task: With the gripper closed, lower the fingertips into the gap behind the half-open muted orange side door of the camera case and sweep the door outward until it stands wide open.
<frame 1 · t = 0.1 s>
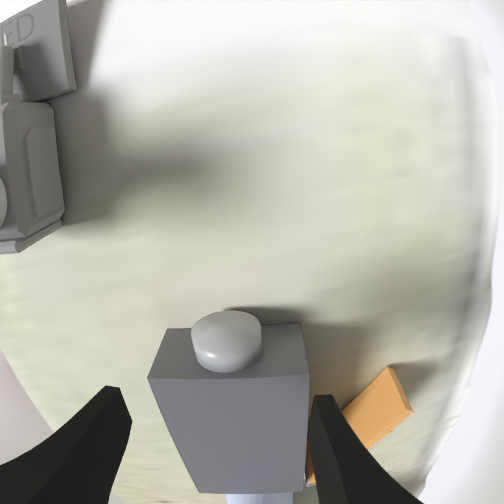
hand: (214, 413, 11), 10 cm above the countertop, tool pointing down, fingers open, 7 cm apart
camera: (30, 120, 16), on the countertop
camera case: (243, 402, 24), on the countertop
case door: (351, 434, 22), point 3 cm above the countertop, hinge at 35.0°
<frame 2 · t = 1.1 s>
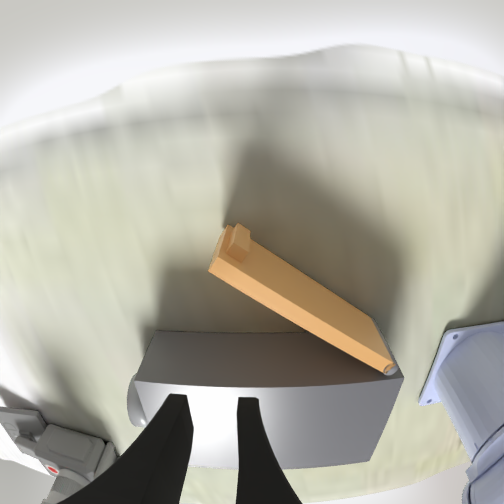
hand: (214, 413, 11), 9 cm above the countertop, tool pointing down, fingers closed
camera: (60, 434, 27), on the countertop
camera case: (268, 382, 22), on the countertop
case door: (316, 299, 17), point 3 cm above the countertop, hinge at 35.0°
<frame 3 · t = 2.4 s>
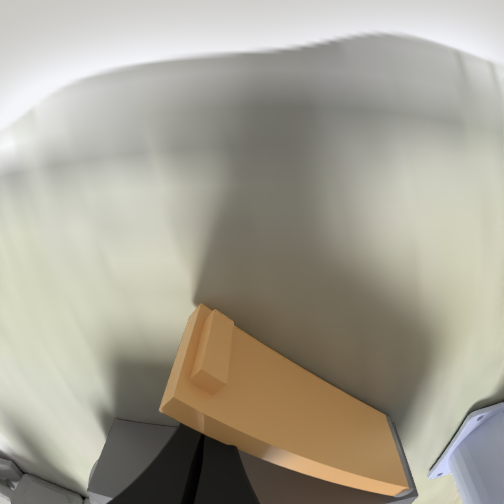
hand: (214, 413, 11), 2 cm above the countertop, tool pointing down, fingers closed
camera: (38, 481, 22), on the countertop
camera case: (253, 471, 16), on the countertop
case door: (321, 418, 11), point 3 cm above the countertop, hinge at 38.9°, touching gripper
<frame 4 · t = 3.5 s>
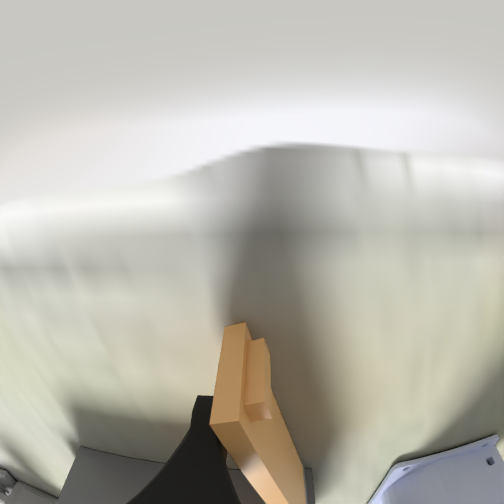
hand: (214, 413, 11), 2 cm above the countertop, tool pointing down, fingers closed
camera: (29, 488, 23), on the countertop
camera case: (196, 494, 18), on the countertop
case door: (281, 456, 12), point 3 cm above the countertop, hinge at 73.7°, touching gripper
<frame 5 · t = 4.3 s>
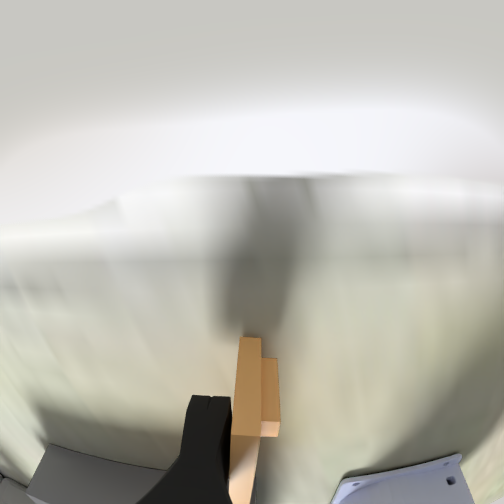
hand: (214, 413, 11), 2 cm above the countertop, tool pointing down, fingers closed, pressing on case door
camera: (16, 484, 24), on the countertop
camera case: (155, 494, 18), on the countertop
case door: (247, 466, 12), point 3 cm above the countertop, hinge at 94.5°, touching gripper
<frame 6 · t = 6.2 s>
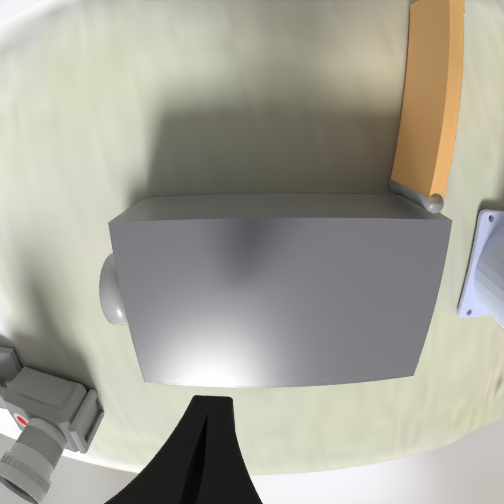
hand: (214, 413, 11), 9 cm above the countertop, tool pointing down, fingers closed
camera: (37, 381, 24), on the countertop
camera case: (279, 269, 19), on the countertop
case door: (434, 92, 12), point 3 cm above the countertop, hinge at 98.4°
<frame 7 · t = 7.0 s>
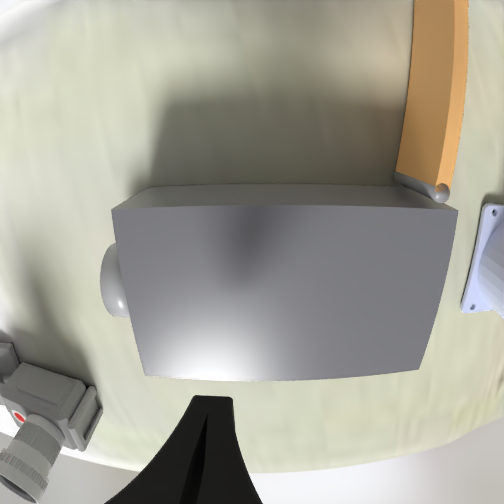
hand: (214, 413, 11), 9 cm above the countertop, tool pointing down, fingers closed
camera: (35, 378, 24), on the countertop
camera case: (283, 261, 19), on the countertop
case door: (439, 84, 12), point 3 cm above the countertop, hinge at 98.4°
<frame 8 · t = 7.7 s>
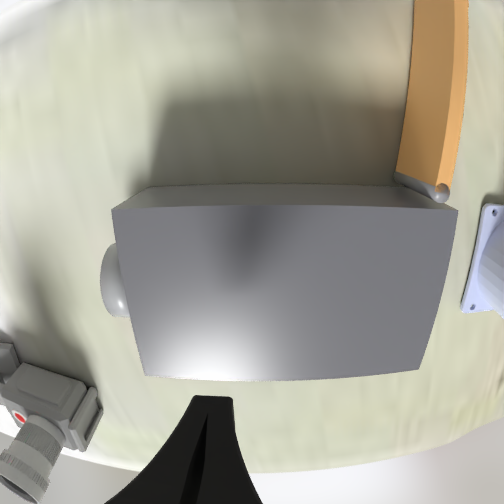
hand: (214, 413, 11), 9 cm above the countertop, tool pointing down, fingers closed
camera: (35, 378, 24), on the countertop
camera case: (283, 261, 19), on the countertop
case door: (439, 84, 12), point 3 cm above the countertop, hinge at 98.4°
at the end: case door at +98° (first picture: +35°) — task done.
